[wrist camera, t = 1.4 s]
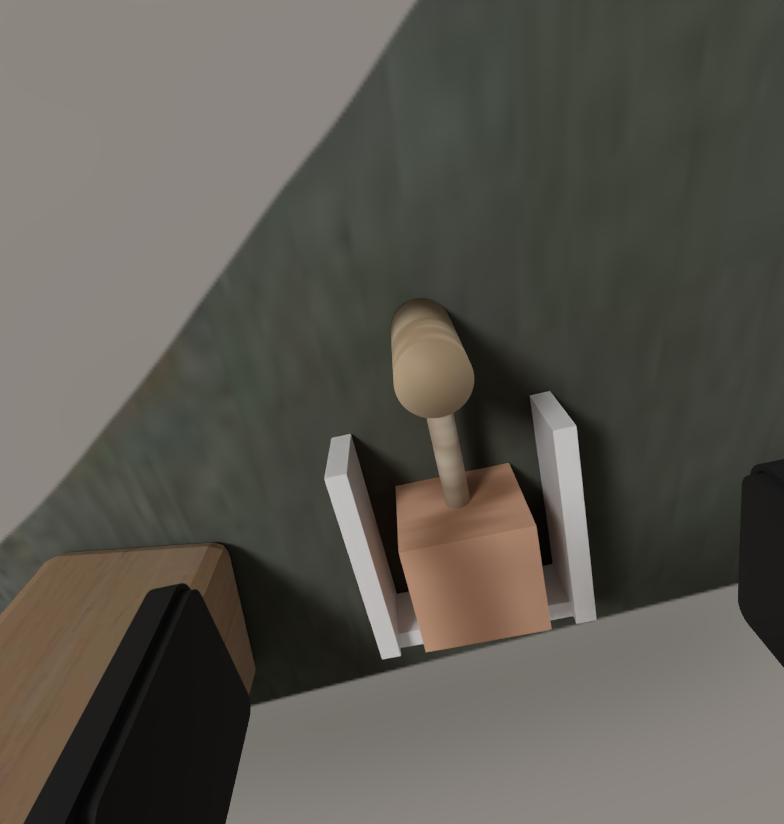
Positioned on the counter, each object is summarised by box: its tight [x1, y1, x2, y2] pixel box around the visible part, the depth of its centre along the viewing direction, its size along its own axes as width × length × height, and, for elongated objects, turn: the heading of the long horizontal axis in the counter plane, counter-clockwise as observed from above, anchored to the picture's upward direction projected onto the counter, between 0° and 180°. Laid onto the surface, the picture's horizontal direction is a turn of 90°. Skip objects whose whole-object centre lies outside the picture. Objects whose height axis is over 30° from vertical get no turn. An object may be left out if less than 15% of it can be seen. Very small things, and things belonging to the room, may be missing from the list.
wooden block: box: [0, 543, 256, 824], centre depth 23 cm, size 10×10×20 cm
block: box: [391, 298, 551, 652], centre depth 25 cm, size 6×15×7 cm, turn 13°
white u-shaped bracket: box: [324, 391, 596, 659], centre depth 28 cm, size 11×12×4 cm
